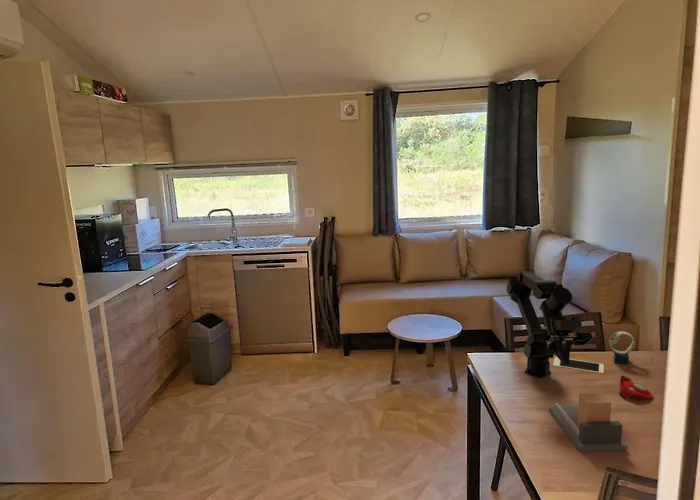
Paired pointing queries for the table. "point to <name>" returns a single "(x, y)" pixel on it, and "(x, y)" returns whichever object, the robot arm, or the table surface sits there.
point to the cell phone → (581, 365)
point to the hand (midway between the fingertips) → (566, 365)
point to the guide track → (575, 438)
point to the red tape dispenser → (633, 389)
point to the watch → (620, 355)
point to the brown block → (593, 408)
